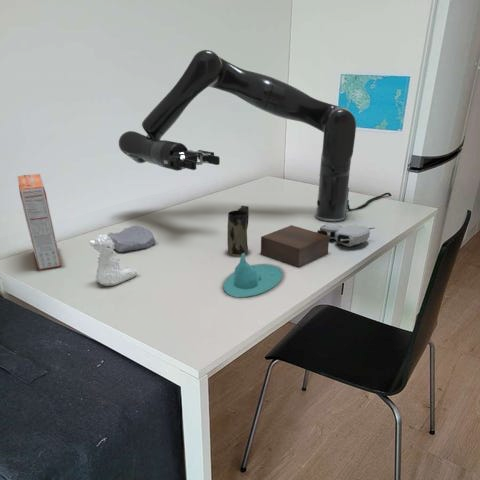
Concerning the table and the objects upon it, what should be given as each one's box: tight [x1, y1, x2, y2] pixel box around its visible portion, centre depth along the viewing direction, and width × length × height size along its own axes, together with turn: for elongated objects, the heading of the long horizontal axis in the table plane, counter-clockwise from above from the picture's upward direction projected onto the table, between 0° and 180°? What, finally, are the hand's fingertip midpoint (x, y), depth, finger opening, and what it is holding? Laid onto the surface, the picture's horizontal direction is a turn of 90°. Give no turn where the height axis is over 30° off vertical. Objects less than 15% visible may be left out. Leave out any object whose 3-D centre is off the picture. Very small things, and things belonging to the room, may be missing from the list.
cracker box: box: [17, 173, 62, 271], centre depth 123 cm, size 14×6×21 cm, turn 23°
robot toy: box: [316, 222, 376, 248], centre depth 139 cm, size 12×4×15 cm
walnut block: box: [260, 224, 330, 268], centre depth 130 cm, size 13×13×5 cm
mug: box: [227, 205, 250, 257], centre depth 130 cm, size 8×6×12 cm
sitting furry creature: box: [88, 233, 138, 287], centre depth 114 cm, size 10×9×12 cm
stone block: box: [107, 224, 156, 253], centre depth 136 cm, size 12×5×10 cm
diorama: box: [223, 253, 283, 299], centre depth 115 cm, size 12×20×9 cm, turn 151°
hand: (207, 163), depth 130 cm, fingers open, 8 cm apart
